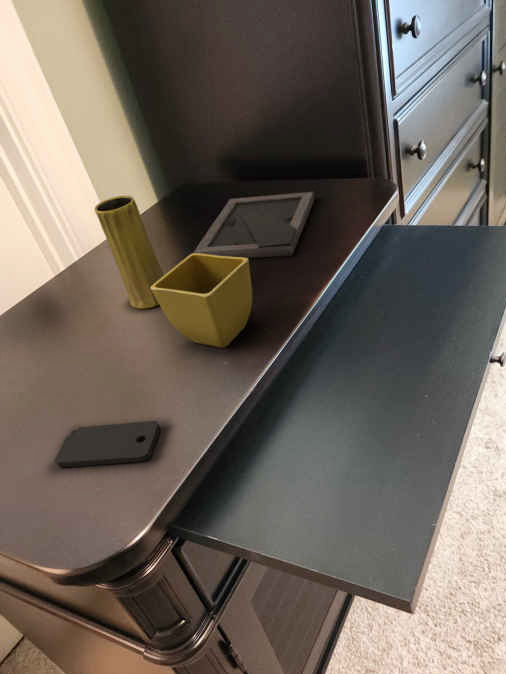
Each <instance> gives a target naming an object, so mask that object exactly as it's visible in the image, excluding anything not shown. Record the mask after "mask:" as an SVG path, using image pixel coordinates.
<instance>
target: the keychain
mask: <svg viewBox="0 0 506 674" xmlns="http://www.w3.org/2000/svg"><path fill="white" fill-rule="evenodd" d="M160 430H161V426H160V424H159V422H158V421H156V420H153V421H152V420H149V421H137V422H126V423H114V424H113V423H112V424H103V425H101V424H100V425H91V426H79V427H78V429H73V430H71V432H70V434H69V435H66V437H65V439H64V441H63V442H62V445H61V447H60V449H59V450H58V452H57V454H56V456H55V458H54V462H55V463H56V465H57V467H59V468H68V467H82V466H83V467H84V466H95V465H96V466H97V465H110V464H111V465H112V464H124V463H125V464H126V463H137V462H146V461H148V460H149V459H150V458H151V457H152V453H153V451H154V447H155V444H156V441H157V439H158V437H159V432H160Z"/></svg>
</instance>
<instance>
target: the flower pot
mask: <svg viewBox="0 0 506 674" xmlns="http://www.w3.org/2000/svg"><path fill="white" fill-rule="evenodd" d="M251 277H252V276H251V269H250V260H249V258H242V257H229V256H216V255H209V254H200V253H194V252H193V253H190V254H189V255H187V256H186V257H185V258H184V259H183V260H182V261H180V262H179V263H178V264H177V265H176V266H174V267H173V268H171V270H169V271H168V272H167V273H166V274H164V276H163V277H162V278H161V279H159V280H158V281H157V282H156V283H154V284H153V285H152V286H151V287H150V288H151V290H152V292H153V294H154V295H155V297H156V299H157V301H158V302H159V304H160V305H159V306H160V308H161V310H162V311H163V314H164V315H165V317H166V318H167V319H168V321H169V323H171V325H172V326H173V327H174V328H175V329H176V330H177V332H179V333H180V334H181V335H182V336H184V337H186V338H187V339H188V340H190V341H192V342H193V343H194V344H201V345H206V346H210V347H211V346H212V347H216V348H222V349H223V348H226V347H228V346H229V345H230V343H231V342H232V341H233V340H234V339H235V338H236V337H238V335H239V334H240V333H241V332H242V331H243V330H244V329H245V327H246V325H247V323H248V321H249V318H250V315H251V311H252V305H253V285H252V278H251Z"/></svg>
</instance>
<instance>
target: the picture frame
mask: <svg viewBox="0 0 506 674" xmlns="http://www.w3.org/2000/svg"><path fill="white" fill-rule="evenodd" d="M314 203H315V195H314V191H306V192H305V191H304V192H294V193H283V194H273V195H272V194H271V195H261V196H249V197H239V198H229V199H228V201H227V202H226V204H225V206H223V209H222V210H221V211H220V213H219V215H217V217H216V219H215V220H214V221H213V223H212V224H211V226H210V228H208V230H207V232H206V233H205V235H204V236H203V237H202V238H201V241H200V242H199V244H198V245H197V247H196V248H195V249H194V250H193V253H200V254H209V255H216V256H229V257H242V258H248V259H256V258H272V257H288V256H293V255H294V252H295V251H296V247H297V245H298V243H299V240H300V236H301V235H302V232H303V230H304V227H305V224H306V223H307V219H308V217H309V215H310V212H311V210H312V207H313V204H314Z"/></svg>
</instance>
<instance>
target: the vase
mask: <svg viewBox="0 0 506 674" xmlns="http://www.w3.org/2000/svg"><path fill="white" fill-rule="evenodd" d="M94 213H95V214H96V216H97V218H98V221H99V224H100V226H101V229H102V231H103V234H104V236H105V238H106V240H107V242H108V246H109V247H110V251H111V253H112V256H113V259H114V261H115V264H116V265H117V266H116V267H117V270H118V272H119V275H120V278H121V280H122V283H123V285H124V288H125V291H126V293H127V296H128V299H129V303H130V306H132V307H133V308H135V309H138V310H148V309H152V308H155V307H158V306H160V304H159V302H158V301H157V299H156V297H155V295H154V294H153V292H152V290H151V288H150V287H151V286H152V285H153V284H154V283H156V282H157V281H158V280H159V279H161V278H162V277H163V276H165V274H164V272H163V270H162V267H161V265H160V262H159V261H158V258H157V256H156V254H155V251H154V248H153V247H152V244H151V241H150V239H149V236H148V233H147V230H146V227H145V224H144V222H143V221H144V220H143V218H142V216H141V213H140V210H139V207H138V205H137V202H136V200H135V198H134V197H133V196H132V195H119V196H114V197H113V196H112V197H111V198H107V199H105V200H103V201H100V202H99V203H98V204H96V205H95V207H94Z"/></svg>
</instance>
